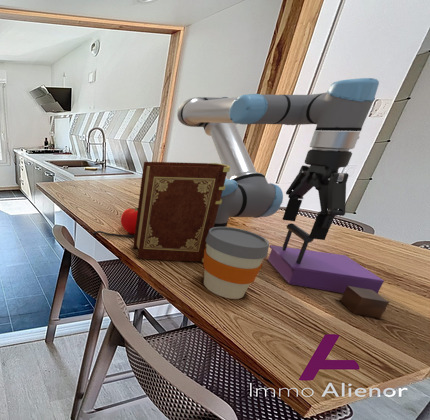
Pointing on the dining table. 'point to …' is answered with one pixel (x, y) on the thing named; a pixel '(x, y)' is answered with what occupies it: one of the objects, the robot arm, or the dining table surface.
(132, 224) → the tomato
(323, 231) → the robot arm
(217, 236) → the reusable coffee cup
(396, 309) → the dining table surface
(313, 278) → the purple box base
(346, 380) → the dining table surface
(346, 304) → the block
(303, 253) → the purple hinged lid
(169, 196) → the decorative book
